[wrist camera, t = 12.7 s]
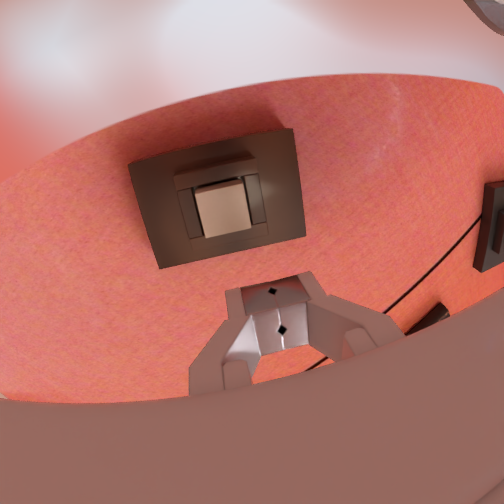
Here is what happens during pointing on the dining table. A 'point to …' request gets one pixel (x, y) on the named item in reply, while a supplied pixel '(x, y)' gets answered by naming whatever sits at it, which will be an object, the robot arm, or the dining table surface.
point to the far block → (491, 228)
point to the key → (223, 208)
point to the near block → (213, 172)
